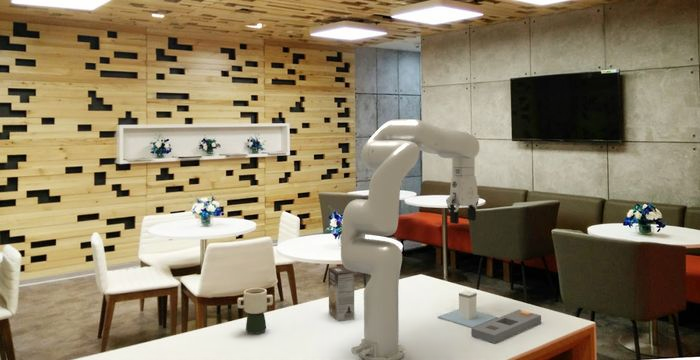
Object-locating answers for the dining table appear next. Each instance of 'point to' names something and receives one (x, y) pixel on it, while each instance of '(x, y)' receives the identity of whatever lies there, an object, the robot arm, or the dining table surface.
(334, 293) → the coffee box
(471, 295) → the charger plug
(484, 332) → the power strip
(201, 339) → the dining table surface
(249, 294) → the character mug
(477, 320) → the slate mat
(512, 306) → the dining table surface
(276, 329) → the dining table surface
